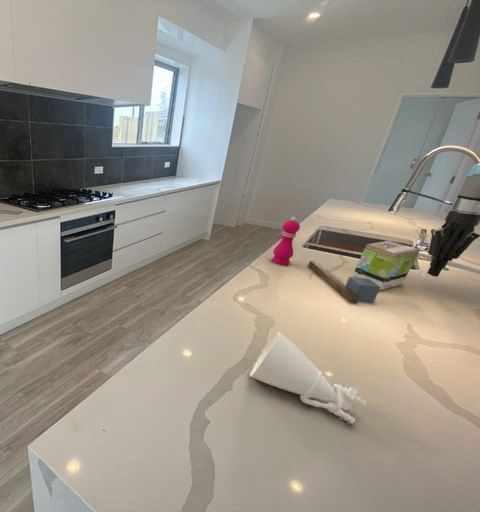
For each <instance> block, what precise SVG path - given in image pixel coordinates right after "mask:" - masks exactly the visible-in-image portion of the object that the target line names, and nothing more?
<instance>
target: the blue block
mask: <svg viewBox="0 0 480 512" xmlns="http://www.w3.org/2000/svg"><path fill="white" fill-rule="evenodd" d="M345 286H347V287H348V288H349V289H350V290H351V291H353V292H354V293H355V294H356V295H358V296H359V297H360V298H359V300H358V302H363V303H371V304H372V303H374V302H375V300H376V298H377V296H378V294H379V292H380V290H379V289H380V286H378V285H377V284H375V283H374V282H373V281H371V280H370V279H365V278H356V277H352V276H349V277H348V279H347V281H346V284H345Z"/></svg>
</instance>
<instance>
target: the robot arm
mask: <svg viewBox="0 0 480 512" xmlns="http://www.w3.org/2000/svg"><path fill="white" fill-rule="evenodd" d="M444 220H445V222H444V223H443V224H442V225H441V227H439V228H433V229H430V234H431V238H430V241H429V242H430V243H429V247H428V252H427V254H428V256H431V257H432V259H431V260H430V263H429V268H428V270H427V272H426V274H428V275H430V276H432V277H439V276H440V273H442V270H443V269H445V268H446V266H447V264H448V263H449V262H453V261H454V260H458V259H459V258H460V257H461V256H462V254H463V253H464V252H465V251H466V250H467V249H468V248H469V247H470V246H471V244H472V243H473V242H474V241H475V240H477V239H479V238H480V233H477V232H475V227H477V226H479V225H480V163H477V164H475V165H473V166H472V168H471V169H470V171H469V173H468V174H467V175H466V177H465V180H464V182H463V184H462V186H461V188H460V190H459V192H458V194H457V196H456V198H455V199H454V201H453V203H452V206H451V210H449V211H448V212H447V215H446V216H445V219H444Z"/></svg>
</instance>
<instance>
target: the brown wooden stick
mask: <svg viewBox="0 0 480 512" xmlns="http://www.w3.org/2000/svg"><path fill="white" fill-rule="evenodd" d="M307 266H308V267H309V268H310V269H311V270H312V271H313V272H314V273H315V274H317V275H318V276H319V277H320V278H321V279H322V280H324V281H325V283H327V284H328V285H329V286H331V287H332V288H333V289H334V290H335V291H336V292H337V293H338V294H339V295H341V296H342V297H343V298H344V299H345V300H346V301H347V302H348V303H350V304H356V305H357V304H358V302H359V301H358V300H359V298H360V297H359V296H358V295H356V294H355V293H354V292H353V291H351V290H350V289H349V288H348V287H347V286H346V284H344V283H343V282H342V281H340V279H338V278H337V277H335V276H334V275H333V274H332V273H331V272H329V271H328V270H327V269H326V268H324V267H323V266H322V265H321V264H320V263H318V262H317V261H316V260H309V262H308V265H307Z"/></svg>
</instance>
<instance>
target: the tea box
mask: <svg viewBox="0 0 480 512" xmlns="http://www.w3.org/2000/svg"><path fill="white" fill-rule="evenodd" d="M419 253H420V249H419V248H416V247H412V246H408V245H405V244H401V243H398V242H394V241H391V240H385V241H379V242H373V243H366V245H365V247H364V248H363V251H362V253H361V256H360V258H359V260H358V263H357V264H356V267H355V269H354V271H353V273H352V275H351V277H356V278H365V279H370V280H371V281H373V282H374V283H375V284H377V285H378V286H380V289H379V291H383V290H385V289H389V288H393V287H397V286H401V285H403V284H404V281H406V277H407V275H408V273H409V272H410V270H411V268H412V267H413V265H414V263H415V261H416V259H417V257H418V255H419Z"/></svg>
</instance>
